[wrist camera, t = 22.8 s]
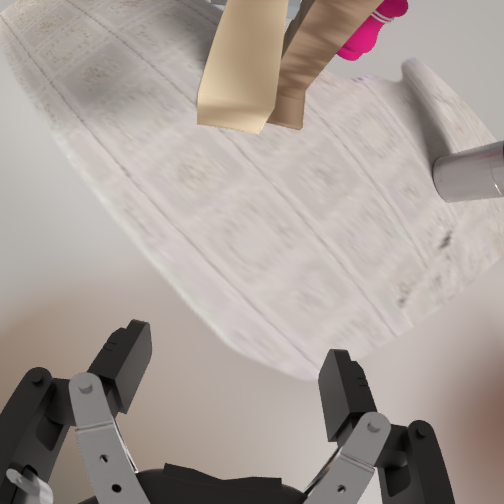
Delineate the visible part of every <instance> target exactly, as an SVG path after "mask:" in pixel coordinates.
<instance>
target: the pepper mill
mask: <svg viewBox="0 0 504 504" xmlns="http://www.w3.org/2000/svg"><path fill="white" fill-rule="evenodd" d="M407 9H408V2H407V0H384V1H383V2H382V3H381V4H380V5H379V6H378V7H377V8H376V9H375V10H374V11H373V13H372V14H371V15H370V16H369V17H368V18H367V19H366V20H365V21H364V22H363V23H362V25H361V26H360V27H359V28H358V29H357V30H356V31H355V32H354V33H353V35H352V36H351V37H350V38H349V39H348V40H347V41H346V43H345V44H344V45H343V46H342V47H341V48H340V50H339V51H338V52H337V53H336V54H338V55H339V56H340V57H342V58H344V59H346V60H350V61H354V60H357V59H358V58H359V57H360V56H361V55H362V54H363V53H367V52H369V51H370V50H371V49H372V48H373V47H374V45H375V43H376V40H377V35H378V32H379V30H380V29H381V27H382V26H383V25H384V24H385V23H390V22H391V20H394V17H400V16H402V15H404V14H405V13H406V12H407Z"/></svg>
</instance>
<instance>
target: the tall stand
mask: <svg viewBox="0 0 504 504" xmlns="http://www.w3.org/2000/svg"><path fill="white" fill-rule="evenodd" d="M383 1H384V0H302V2H301V4H300V9H299V11H298V13H297V15H296V17H295V18H294V20H293V19H292V21H291V23H290V25H289V27H288V29H287V31H286V33H285V35H284V40H283V48H282V55H281V63H280V71H279V78H278V86H277V93H276V101H275V108H274V110H273V111H272V113H271V115H270V116H269V118H268V119H267V121H266V123H271V124H275V125H280V126H284V127H288V128H292V129H296V130H300V129H301V128H302V126H303V115H304V103H305V91H306V90H307V88H308V87H309V86H310V85H311V83H312V82H313V81H314V80H315V78H316V77H317V76H318V75H319V73H320V72H321V71H322V70H323V69H324V67H325V66H326V65H327V63H328V62H329V61H330V60H331V59H332V58H333V57H334V55H335V54H336V53H337V52H338V51H339V50H340V48H341V47H342V46H343V45H344V44H345V43H346V41H347V40H348V39H349V38H350V37H351V36H352V35H353V33H354V32H355V31H356V30H357V29H358V28H359V27H360V26H361V25H362V23H363V22H364V21H365V20H366V19H367V18H368V17H369V16H370V15H371V14H372V13H373V11H374V10H375V9H376V8H377V7H378V6H379V5H380V4H381V3H382V2H383Z"/></svg>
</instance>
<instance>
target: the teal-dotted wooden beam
mask: <svg viewBox="0 0 504 504" xmlns="http://www.w3.org/2000/svg"><path fill="white" fill-rule="evenodd" d="M288 1H289V0H227V3H226V6H225V9H224V11H223V14H222V17H221V19H220V22H219V25H218V28H217V31H216V34H215V37H214V40H213V43H212V46H211V50H210V53H209V56H208V59H207V63H206V66H205V70H204V73H203V77H202V80H201V84H200V88H199V91H198V103H197V124H200V125H207V126H214V127H220V128H227V129H233V130H238V131H244V132H249V133H254V134H259V132H260V131H261V129H262V128H263V126H264V124H265V123H266V121H267V119H268V118H269V116H270V115H271V113H272V111H273V110H274V108H275V101H276V93H277V86H278V78H279V71H280V63H281V55H282V48H283V40H284V32H285V24H286V17H287V9H288Z"/></svg>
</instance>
